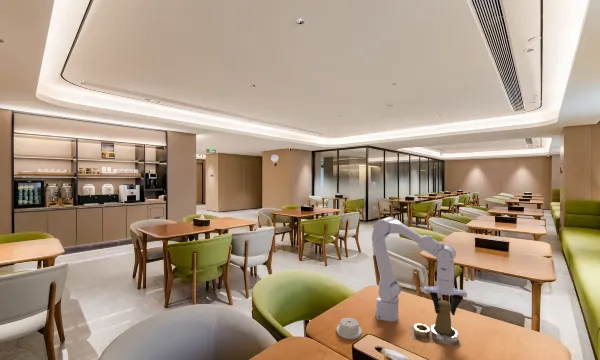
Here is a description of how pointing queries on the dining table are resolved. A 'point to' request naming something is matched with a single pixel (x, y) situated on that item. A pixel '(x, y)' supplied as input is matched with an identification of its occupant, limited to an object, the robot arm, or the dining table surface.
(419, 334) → the narrow bronze ring
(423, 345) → the dining table surface
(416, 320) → the dining table surface
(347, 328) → the mechanical component
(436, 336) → the wide steel ring
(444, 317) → the olive bulbous peg
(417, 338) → the smooth grayish brown board
